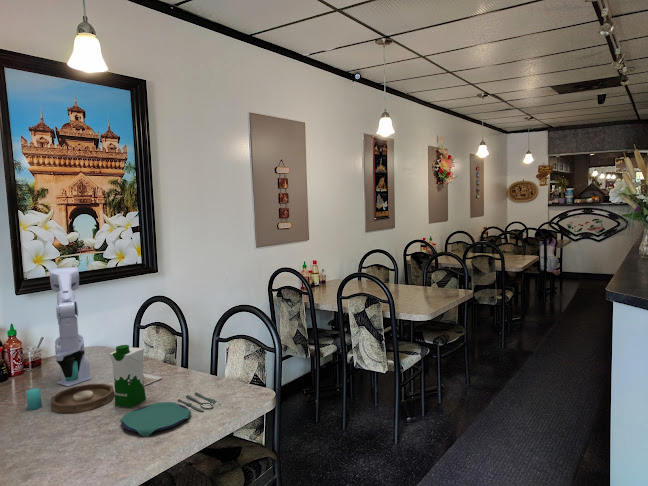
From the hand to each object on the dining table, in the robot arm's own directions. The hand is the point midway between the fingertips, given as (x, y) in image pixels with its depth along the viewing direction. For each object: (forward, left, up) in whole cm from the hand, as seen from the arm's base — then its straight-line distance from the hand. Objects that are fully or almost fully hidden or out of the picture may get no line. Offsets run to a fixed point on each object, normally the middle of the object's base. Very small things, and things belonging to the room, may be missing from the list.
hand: (72, 374), depth 166 cm
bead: (+11, -4, -8) cm, 14 cm away
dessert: (-21, +7, -9) cm, 24 cm away
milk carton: (-7, +22, -9) cm, 24 cm away
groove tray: (0, +6, -8) cm, 10 cm away
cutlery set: (-7, +42, -9) cm, 44 cm away
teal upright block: (0, 0, -2) cm, 2 cm away
